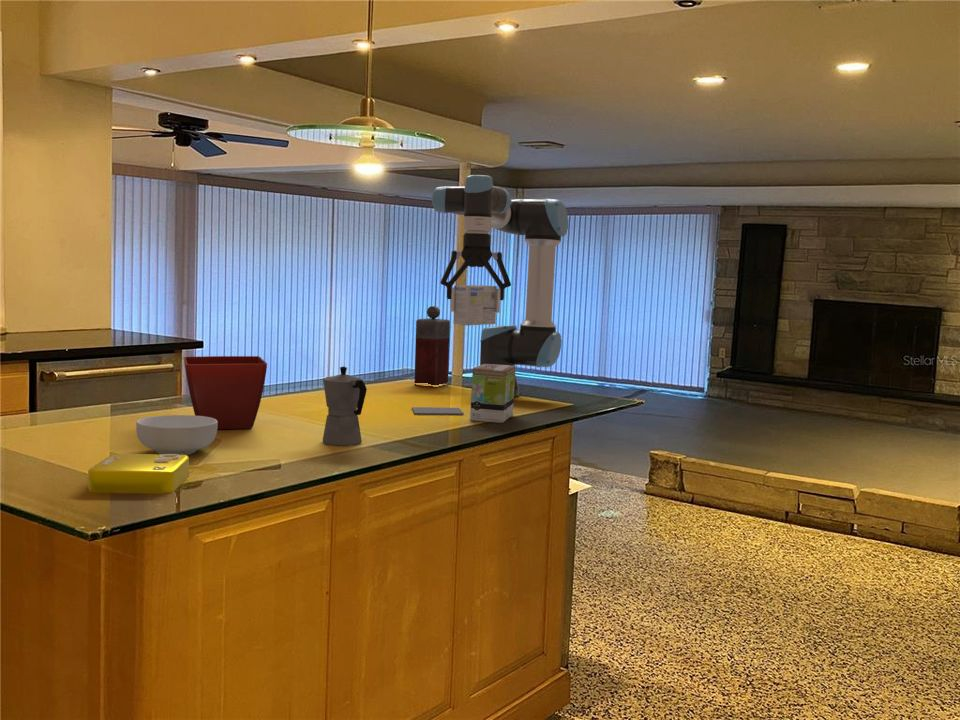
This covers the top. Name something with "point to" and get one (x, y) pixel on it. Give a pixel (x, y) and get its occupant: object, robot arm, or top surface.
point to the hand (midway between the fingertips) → (474, 311)
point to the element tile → (139, 473)
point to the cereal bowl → (176, 433)
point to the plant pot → (226, 388)
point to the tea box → (492, 393)
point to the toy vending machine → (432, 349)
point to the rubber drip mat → (436, 411)
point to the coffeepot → (343, 409)
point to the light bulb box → (475, 305)
